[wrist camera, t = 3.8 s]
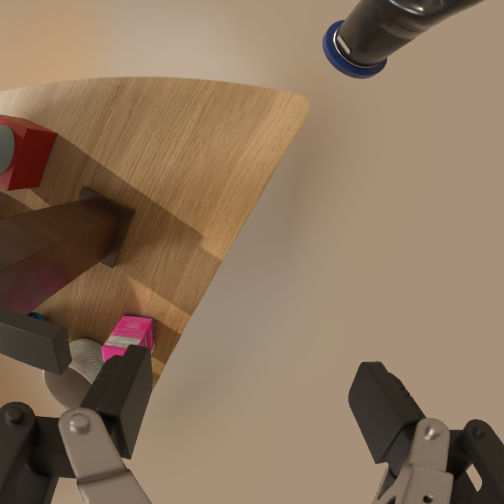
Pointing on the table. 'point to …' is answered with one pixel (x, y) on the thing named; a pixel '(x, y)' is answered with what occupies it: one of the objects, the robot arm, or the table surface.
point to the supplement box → (129, 335)
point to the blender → (23, 152)
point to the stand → (58, 247)
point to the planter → (76, 373)
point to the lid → (34, 341)
